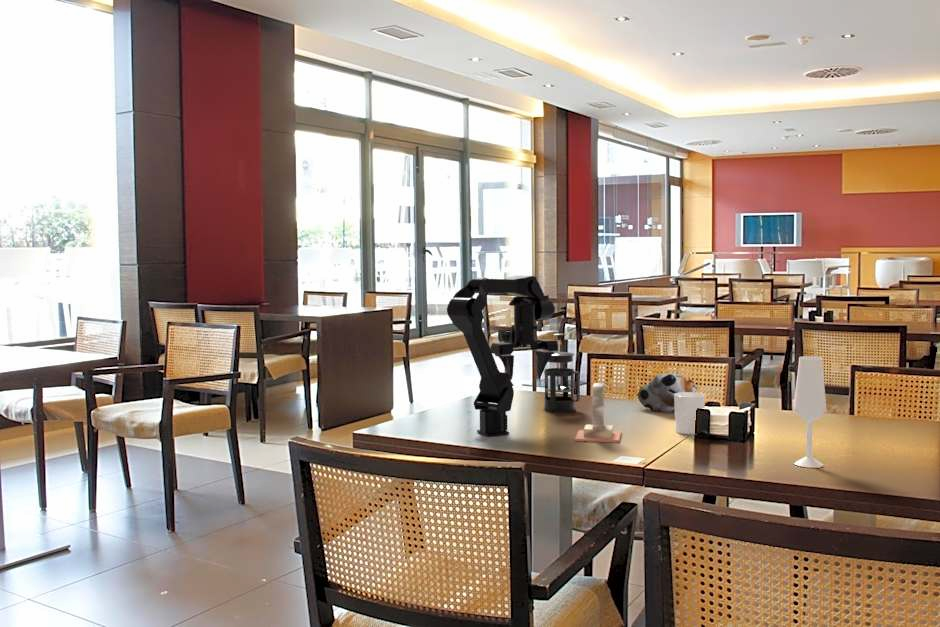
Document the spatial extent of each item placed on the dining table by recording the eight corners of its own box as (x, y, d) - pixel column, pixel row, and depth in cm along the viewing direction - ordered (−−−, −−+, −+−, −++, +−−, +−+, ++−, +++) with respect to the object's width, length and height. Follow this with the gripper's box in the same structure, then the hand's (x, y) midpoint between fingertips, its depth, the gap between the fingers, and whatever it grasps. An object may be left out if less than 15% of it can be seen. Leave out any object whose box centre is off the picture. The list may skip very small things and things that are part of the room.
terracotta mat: (574, 441, 224) (575, 438, 224) (579, 432, 234) (579, 429, 234) (619, 442, 221) (619, 440, 221) (621, 433, 232) (621, 431, 232)
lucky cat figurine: (677, 404, 273) (696, 367, 267) (686, 426, 262) (705, 388, 256) (632, 391, 270) (650, 354, 264) (639, 414, 260) (657, 375, 254)
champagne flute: (817, 461, 200) (819, 355, 198) (830, 468, 194) (832, 359, 192) (787, 461, 200) (789, 356, 198) (799, 469, 193) (801, 359, 192)
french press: (536, 410, 266) (535, 334, 264) (550, 405, 274) (549, 331, 272) (572, 414, 259) (571, 335, 258) (585, 408, 267) (585, 332, 266)
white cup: (702, 429, 236) (702, 392, 235) (707, 435, 228) (707, 397, 228) (671, 428, 237) (672, 391, 236) (675, 435, 229) (676, 396, 228)
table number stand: (583, 436, 226) (583, 386, 225) (585, 432, 231) (585, 382, 230) (611, 437, 224) (611, 386, 223) (612, 432, 230) (612, 383, 229)
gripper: (537, 317, 254) (538, 372, 255) (480, 321, 245) (481, 377, 246) (559, 320, 244) (559, 376, 245) (500, 324, 235) (500, 382, 236)
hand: (524, 378), depth 243 cm, fingers open, 9 cm apart
